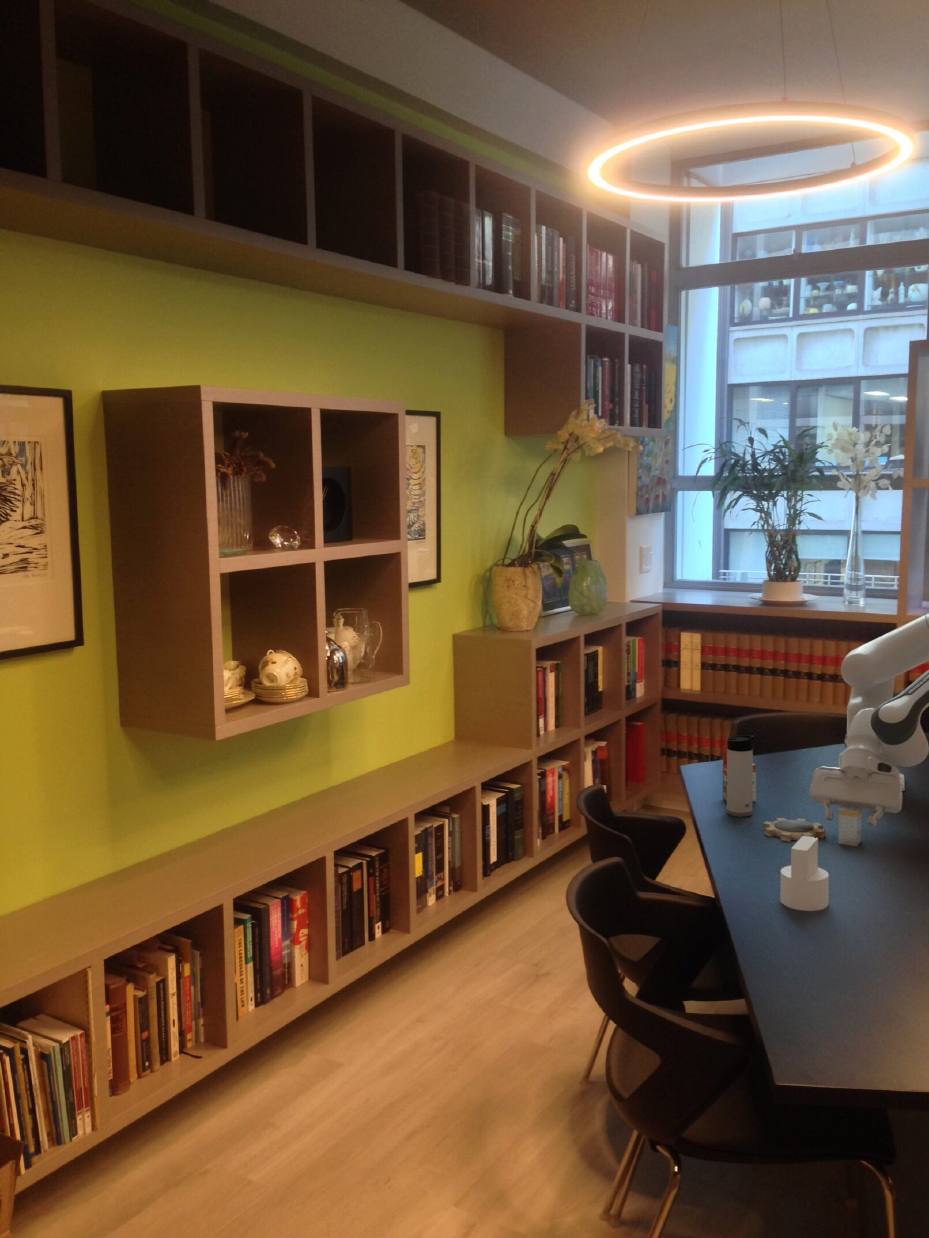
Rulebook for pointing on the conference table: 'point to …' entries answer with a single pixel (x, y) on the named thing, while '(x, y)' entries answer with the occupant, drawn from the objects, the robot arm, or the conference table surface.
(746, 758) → the travel mug
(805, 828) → the toothed wheel
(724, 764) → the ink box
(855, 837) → the link block
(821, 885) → the base with upright slab
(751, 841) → the conference table surface
